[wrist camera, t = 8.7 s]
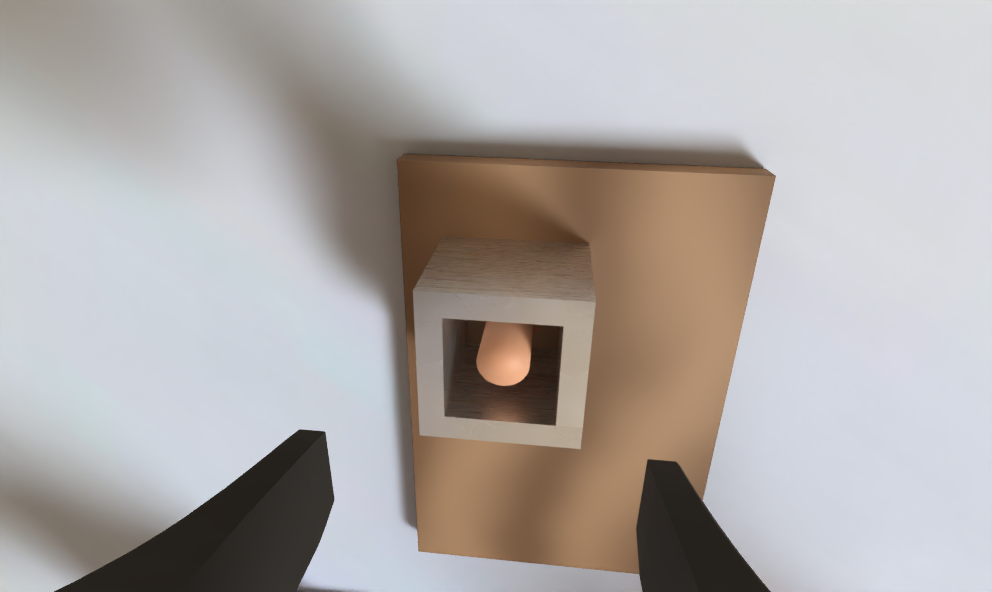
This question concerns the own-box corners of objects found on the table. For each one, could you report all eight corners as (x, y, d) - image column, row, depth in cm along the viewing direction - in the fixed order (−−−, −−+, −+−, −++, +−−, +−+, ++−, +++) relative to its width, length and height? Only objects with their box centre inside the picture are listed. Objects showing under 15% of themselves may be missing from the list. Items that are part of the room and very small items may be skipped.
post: (477, 333, 22) (460, 395, 18) (478, 268, 21) (459, 321, 17) (547, 338, 21) (544, 402, 18) (552, 273, 20) (549, 328, 17)
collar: (445, 359, 22) (419, 435, 18) (443, 235, 20) (413, 290, 16) (578, 369, 22) (580, 448, 18) (589, 243, 20) (595, 301, 16)
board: (423, 533, 28) (418, 551, 27) (404, 153, 20) (397, 160, 19) (680, 560, 27) (684, 578, 26) (765, 168, 19) (775, 176, 18)
